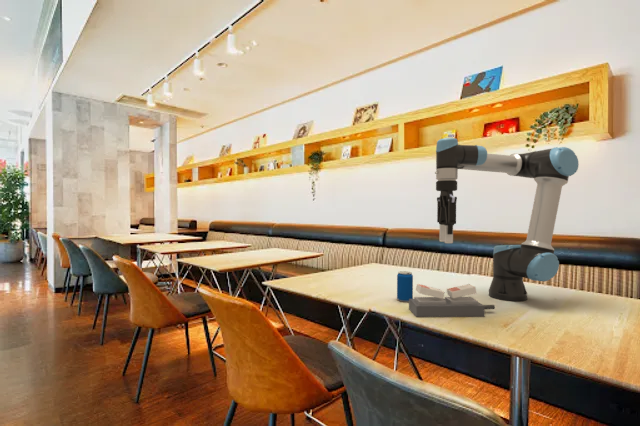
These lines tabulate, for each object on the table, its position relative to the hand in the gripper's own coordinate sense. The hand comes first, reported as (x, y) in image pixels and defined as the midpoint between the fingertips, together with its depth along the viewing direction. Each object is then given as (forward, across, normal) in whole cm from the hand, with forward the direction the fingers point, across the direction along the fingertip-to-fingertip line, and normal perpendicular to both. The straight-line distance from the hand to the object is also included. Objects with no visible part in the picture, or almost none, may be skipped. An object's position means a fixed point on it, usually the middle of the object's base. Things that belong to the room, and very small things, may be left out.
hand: (446, 242), depth 133 cm
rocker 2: (+20, 0, +6) cm, 21 cm away
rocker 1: (+20, 0, -6) cm, 21 cm away
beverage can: (+27, -17, -11) cm, 34 cm away
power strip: (+27, 0, +3) cm, 27 cm away
